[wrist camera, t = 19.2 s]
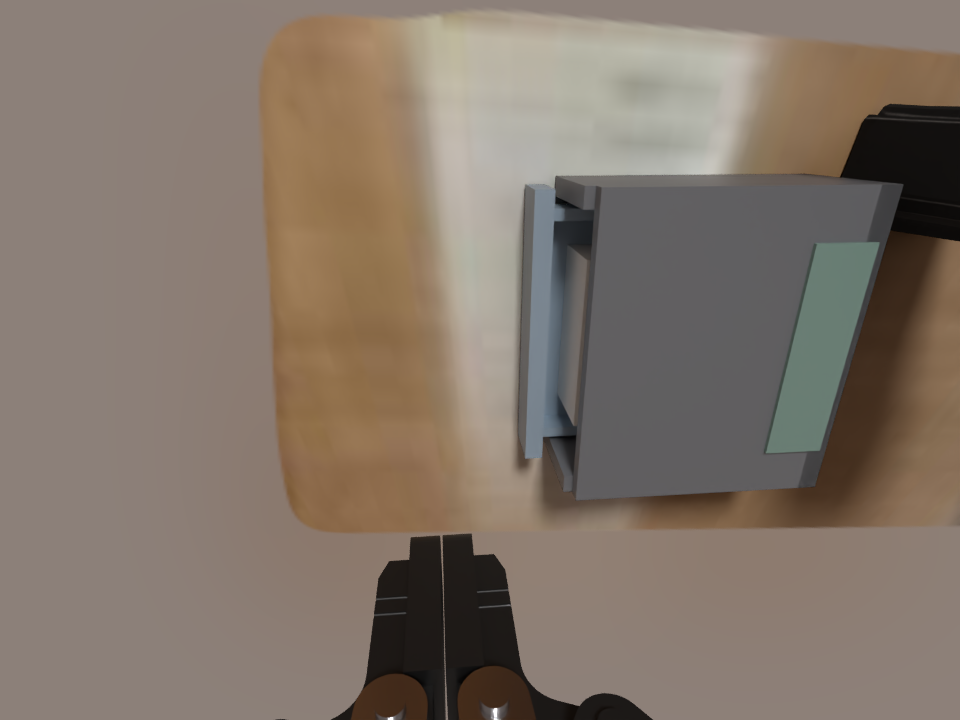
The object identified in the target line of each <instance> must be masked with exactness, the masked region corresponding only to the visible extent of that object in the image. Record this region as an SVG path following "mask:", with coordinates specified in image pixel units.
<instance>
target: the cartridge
mask: <svg viewBox="0 0 960 720" xmlns="http://www.w3.org/2000/svg"><path fill="white" fill-rule="evenodd" d="M591 247H592V244H567V258H566V272H565V287H564V302H563V316H562V331H561V346H560V360H559V375H558V390H557V393H558V395H559V398H560V400H561V402H562V404H563V406H564V408H565V410H566V412H567V414H568V416H569V418H570V420H571V422H572V424H573V426H577V424H578V411H579V398H580V386H581V373H582V361H583V348H584V335H585V323H586V310H587V298H588V285H589V272H590V260H591Z"/></svg>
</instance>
